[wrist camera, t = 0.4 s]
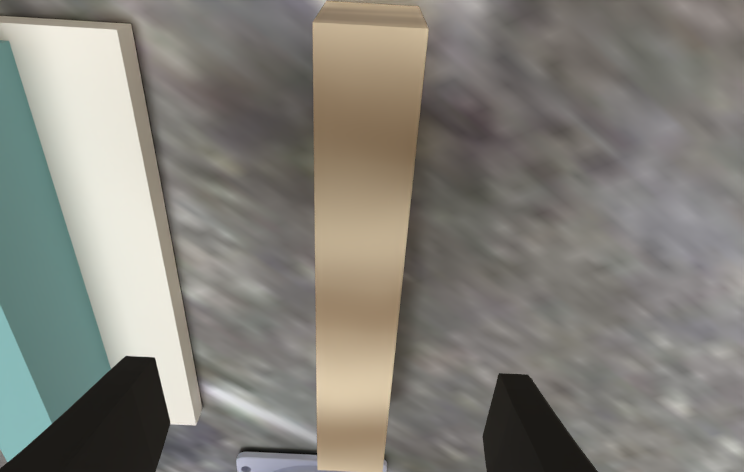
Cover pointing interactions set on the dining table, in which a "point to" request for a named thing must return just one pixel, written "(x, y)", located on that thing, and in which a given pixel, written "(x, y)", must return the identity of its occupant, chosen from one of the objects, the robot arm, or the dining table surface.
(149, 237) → the stand
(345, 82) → the beech bar
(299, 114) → the dining table surface
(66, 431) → the robot arm
